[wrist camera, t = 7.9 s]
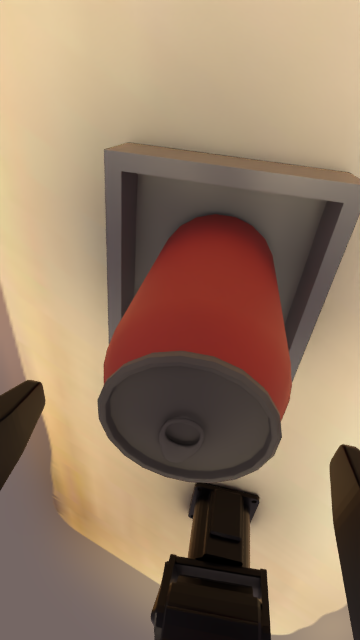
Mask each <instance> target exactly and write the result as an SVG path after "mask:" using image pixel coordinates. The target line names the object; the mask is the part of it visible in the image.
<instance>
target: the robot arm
mask: <svg viewBox="0 0 360 640" xmlns="http://www.w3.org/2000/svg"><path fill="white" fill-rule="evenodd" d="M44 406H45V395H44V390H43V385H42V383H41V382H38V381H34V380H27V381H25V382H23V383H21V384H19V385H18V386H16V387H14V388H12V389H11V390H9V391H7V392H5V393H4V394H2V395H0V490H1V489H2V487H3V485H4V483H5V482H6V480H7V479H8V477H9V475H10V474H11V472H12V470H13V469H14V467H15V465H16V464H17V462H18V460H19V458H20V457H21V455H22V453H23V451H24V449H25V447H26V445H27V443H28V441H29V439H30V437H31V434H32V432H33V430H34V428H35V425H36V423H37V421H38V419H39V417H40V415H41V413H42V411H43V409H44ZM330 483H331V498H332V512H333V524H334V530H335V536H336V542H337V547H338V553H339V559H340V564H341V570H342V576H343V581H344V587H345V593H346V598H347V604H348V610H349V615H350V621H351V627H352V632H353V638H354V640H360V450H359V449H358V448H356V447H354V446H349V445H344V444H342V445H340V446H339V448H338V450H337V451H336V453H335V454H334V456H333V458H332V459H331V462H330ZM258 504H259V497H258V496H256V495H252V494H248V493H243V492H239V491H235V490H230V489H226V488H221V487H217V486H212V485H208V484H204V483H196V484H195V487H194V492H193V496H192V501H191V505H190V509H189V515H188V516H189V517H190V518H192V519H193V523H192V530H191V538H190V545H189V552H188V558H185V557H179V556H177V555H174V554H171V555H170V559H169V561H167V562H165V567H164V573H163V578H162V582H161V586H160V589H159V592H158V595H157V598H156V601H155V604H154V607H153V610H152V613H151V621H152V623H153V625H154V633H155V640H271V633H270V615H269V600H268V585H267V570H266V569H260V570H258V569H252V568H250V522H251V520H252V518H253V516H254V513H255V511H256V509H257V507H258Z"/></svg>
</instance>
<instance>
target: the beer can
mask: <svg viewBox="0 0 360 640" xmlns="http://www.w3.org/2000/svg"><path fill="white" fill-rule="evenodd" d="M291 387H292V380H291V362H290V356H289V350H288V344H287V338H286V332H285V326H284V320H283V314H282V308H281V302H280V297H279V291H278V285H277V279H276V273H275V267H274V261H273V255H272V253H271V251H270V249H269V246H268V244H267V242H266V240H265V238H264V237H263V236H262V235H261V234H260V233H259V232H258V231H257V230H256V229H255V228H254V227H253V226H252V225H250V224H248V223H246V222H244V221H242V220H240V219H238V218H236V217H232V216H225V215H218V214H213V215H207V216H202V217H196V218H194V219H193V220H191V221H189V222H187V223H185V224H183V225H181V226H180V227H179V228H178V229H177V230H176V231H175V232H174V233H173V234H172V236H171V237H170V238H169V239H168V240H167V242H166V244H165V245H164V247H163V249H162V251H161V252H160V254H159V256H158V257H157V259H156V261H155V262H154V264H153V266H152V268H151V269H150V271H149V273H148V274H147V276H146V278H145V280H144V281H143V283H142V285H141V286H140V288H139V290H138V292H137V293H136V295H135V297H134V298H133V300H132V302H131V304H130V305H129V307H128V309H127V310H126V312H125V314H124V316H123V317H122V319H121V321H120V322H119V324H118V326H117V328H116V329H115V331H114V334H113V336H112V339H111V341H110V344H109V346H108V349H107V352H106V357H105V361H104V386H103V389H102V391H101V393H100V396H99V398H98V413H99V420H100V422H101V424H102V426H103V428H104V430H105V432H106V434H107V436H108V438H109V439H110V441H111V442H112V443H113V444H114V445H115V446H116V447H117V448H118V449H119V450H120V451H121V452H122V453H123V454H124V455H125V456H126V457H128V458H129V459H131V460H132V461H134V462H135V463H137V464H138V465H140V466H141V467H143V468H145V469H148V470H150V471H152V472H155V473H157V474H160V475H162V476H165V477H168V478H173V479H177V480H182V481H187V482H200V483H216V482H222V481H229V480H235V479H238V478H240V477H243V476H245V475H247V474H249V473H252V472H254V471H256V470H258V469H259V468H260V467H262V466H263V465H264V464H265V463H266V462H267V461H268V460H269V459H270V458H272V457H273V456H274V454H275V452H276V450H277V447H278V445H279V443H280V440H281V438H282V434H281V423H280V422H281V420H282V417H283V415H284V413H285V410H286V408H287V405H288V403H289V399H290V393H291Z"/></svg>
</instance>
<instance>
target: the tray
mask: <svg viewBox="0 0 360 640" xmlns="http://www.w3.org/2000/svg"><path fill="white" fill-rule="evenodd" d="M104 164H105V204H106V245H107V285H108V325H109V344H110V341H111V339H112V336H113V334H114V331H115V329H116V328H117V326H118V324H119V322H120V321H121V319H122V317H123V316H124V314H125V312H126V310H127V309H128V307H129V305H130V304H131V302H132V300H133V298H134V297H135V295H136V293H137V292H138V290H139V288H140V286H141V285H142V283H143V281H144V280H145V278H146V276H147V274H148V273H149V271H150V269H151V268H152V266H153V264H154V262H155V261H156V259H157V257H158V256H159V254H160V252H161V251H162V249H163V247H164V245H165V244H166V242H167V240H168V239H169V238H170V237H171V236H172V234H173V233H174V232H175V231H176V230H177V229H178V228H179V227H180V226H181V225H183V224H185V223H187V222H189V221H191V220H193V219H194V218H196V217H202V216H207V215H213V214H218V215H225V216H232V217H236V218H238V219H240V220H242V221H244V222H246V223H248V224H250V225H252V226H253V227H254V228H255V229H256V230H257V231H258V232H259V233H260V234H261V235H262V236H263V237H264V238H265V240H266V242H267V244H268V246H269V249H270V251H271V253H272V255H273V261H274V267H275V273H276V279H277V285H278V291H279V297H280V302H281V308H282V314H283V320H284V326H285V332H286V338H287V344H288V350H289V356H290V362H291V380H292V381H293V379H294V376H295V374H296V371H297V369H298V366H299V364H300V361H301V359H302V356H303V354H304V351H305V349H306V346H307V344H308V341H309V339H310V336H311V334H312V331H313V329H314V326H315V324H316V321H317V319H318V316H319V314H320V312H321V309H322V307H323V304H324V302H325V299H326V297H327V294H328V292H329V289H330V287H331V284H332V282H333V279H334V277H335V274H336V272H337V269H338V267H339V264H340V262H341V259H342V257H343V254H344V252H345V249H346V247H347V244H348V242H349V239H350V237H351V234H352V232H353V229H354V227H355V224H356V222H357V219H358V217H359V214H360V179H359V178H357V177H356V176H354V175H353V174H351V173H349V172H342V171H334V170H327V169H320V168H312V167H305V166H298V165H290V164H283V163H275V162H268V161H261V160H253V159H246V158H238V157H231V156H224V155H216V154H209V153H202V152H194V151H187V150H179V149H172V148H165V147H157V146H150V145H142V144H135V143H124V144H121V145H118V146H114V147H111V148H107V149H104Z"/></svg>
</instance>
